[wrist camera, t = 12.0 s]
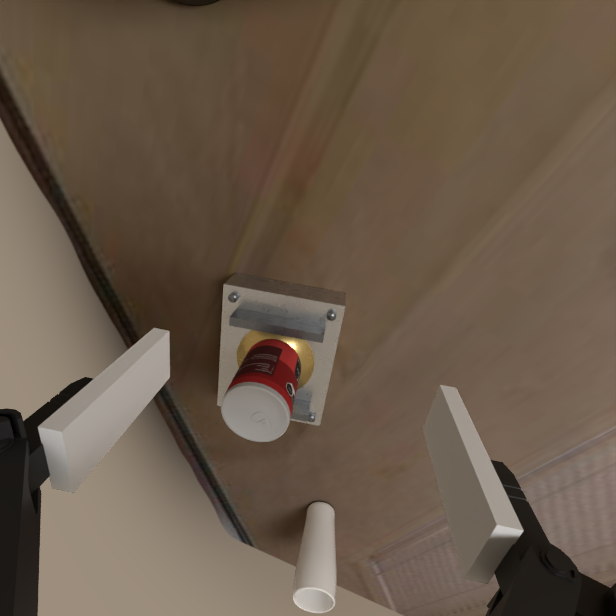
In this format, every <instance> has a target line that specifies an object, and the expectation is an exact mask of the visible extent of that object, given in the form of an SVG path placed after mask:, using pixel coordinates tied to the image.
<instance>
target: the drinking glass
mask: <svg viewBox="0 0 616 616" xmlns="http://www.w3.org/2000/svg"><path fill="white" fill-rule="evenodd" d="M334 519H335V512H334V509H333V508H332V506H330V505H329V504H327V503H325V502H314V503H312V504H311V505H310V506H309V507H308V509H307V515H306V522H305V526H304V531H303V536H302V541H301V546H300V550H299V555H298V560H297V565H296V571H295V578H294V587H293V601H294V603H295V604H296V605H297V606H298V607H299V608H301V609H303V610H305V611H308V612H312V613H324V612H327V611H329V610H331V609H332V608H333V607H334V605H335V598H336V550H335V525H334Z"/></svg>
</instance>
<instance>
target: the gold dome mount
mask: <svg viewBox="0 0 616 616" xmlns="http://www.w3.org/2000/svg"><path fill="white" fill-rule="evenodd" d="M345 300H346V293H344V292H339V291H333V290H328V289H322V288H317V287H311V286H306V285H300V284H295V283H289V282H284V281H278V280H273V279H267V278H262V277H256V276H250V275H245V274H239V273H235V274H234V275H233V276H231V277H230V278H229V279H228V280H227V281H226V282H225V283H224V284H223V303H222V322H221V342H220V362H219V381H218V401H217V405H218V406H221V403H222V400H223V397H224V395H225V393H226V391H227V389H228V387H229V385H230V383H231V382H232V380H233V378H234V376H235V374H236V373H237V371H238V369H239V367H240V365H241V364H242V362H243V360H244V358H245V356H246V354H247V353H248V351H249V350H250V348H251V347H252V346H253V345H254V344H256V343H258V342H260V341H261V340H265V339H277V340H281V341H283V342H285V343H287V344H289V345H290V346H291V347H292V348H293V349H294V350H295V351H296V353H297V354H298V356H299V358H300V362H301V374H300V379H299V383H298V388H297V392H296V397H295V401H294V406H293V410H292V414H291V418H290V420H293V421H298V422H303V423H308V424H313V425H318V426H320V422H321V418H322V413H323V408H324V404H325V399H326V394H327V390H328V385H329V380H330V376H331V371H332V366H333V362H334V357H335V352H336V348H337V343H338V338H339V334H340V329H341V324H342V320H343V315H344V310H345Z"/></svg>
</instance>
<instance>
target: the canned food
mask: <svg viewBox="0 0 616 616" xmlns="http://www.w3.org/2000/svg"><path fill="white" fill-rule="evenodd" d="M300 374H301V362H300V358H299V356H298V354H297V353H296V351H295V350H294V349H293V348H292V347H291V346H290V345H289V344H287V343H285V342H283V341H281V340H277V339H265V340H261V341H260V342H258V343H256V344H254V345H253V346H252V347H251V348H250V350H249V351H248V353H247V354H246V356H245V358H244V360H243V362H242V364H241V365H240V367H239V369H238V371H237V373H236V374H235V376H234V378H233V380H232V382H231V383H230V385H229V387H228V389H227V391H226V393H225V395H224V397H223V400H222V403H221V413H222V416H223V419H224V421H225V423H226V424H227V425H228V427H229V428H230V429H231V430H232V431H234V432H235V433H236V434H238V435H239V436H241V437H243V438H245V439H248V440H251V441H256V442H267V441H272V440H275V439H277V438H279V437H280V436H282V435H283V434H284V432H285V431H286V429H287V427H288V425H289V422H290V418H291V414H292V410H293V406H294V401H295V397H296V392H297V388H298V383H299V379H300Z"/></svg>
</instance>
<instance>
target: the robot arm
mask: <svg viewBox="0 0 616 616" xmlns="http://www.w3.org/2000/svg"><path fill="white" fill-rule="evenodd" d="M174 1H177V2H180V3H183V4H188V5H205V4H209V3H213V2H215V1H218V0H174ZM169 378H170V345H169V331H167V330H162V329H157V328H153V329H152V330H151V331H150V332H149V333H147V334H146V335H145V336H144V337H143V338H141V339H140V340H139V341H138V342H137V343H136V344H134V345H133V346H132V347H131V348H130V349H129V350H127V351H126V352H125V353H124V354H123V355H122V356H120V357H119V358H118V359H117V360H116V361H114V363H112V364H111V365H110V366H109V367H107V368H106V369H105V370H104V371H103V372H102V373H100V374H99V375H98V376H97V377H96V378H94V379H92V378H87V377H84V378H82V379H80V380H78V381H76V382H73V383H71V384H70V385H68V386H67V387H66V388H65V389H63V390H62V391H61V392H60V393H59V395H58V394H57V395H56V396H55V397H53V398H52V399H51V400H50V402H47V403H46V404H45V405H43V406H42V407H41V408H40V409H38V410H37V411H36V412H35V413H33V414H32V415H31V416H30V417H29V418H27V419H26V420H25V421H23V419H22V416H21V413H20V412H18V411H17V410H14V409H0V616H37V612H38V580H39V547H40V513H41V490H40V486H41V484H42V483H43V482H44V481H45V480H46V479H47V478H48V477H50V482H51V486H52V488H53V489H58V490H62V491H67V492H72V493H74V492H75V491H76V490H77V488H78V487H79V486H80V485H81V484H82V482H83V481H84V480H85V479H86V478H87V476H88V475H89V474H90V473H91V472H92V470H93V469H94V468H95V467H96V466H97V464H98V463H99V462H100V461H101V460H102V458H103V457H104V456H105V455H106V454H107V452H108V451H109V450H110V449H111V448H112V446H113V445H114V444H115V443H116V441H117V440H118V439H119V438H120V437H121V435H122V434H123V433H124V432H125V431H126V430H127V428H128V427H129V426H130V425H131V424H132V422H133V421H134V420H135V418H136V417H137V416H138V415H139V414H140V413H141V411H142V410H143V409H144V408H145V407H146V405H147V404H148V403H149V402H150V401H151V399H152V398H153V397H154V396H155V395H156V393H157V392H158V391H159V390H160V389H161V387H162V386H163V385H164V384H165V383H166V381H167V380H168V379H169ZM422 429H423V433H424V437H425V440H426V444H427V448H428V451H429V455H430V459H431V462H432V466H433V470H434V473H435V477H436V481H437V484H438V488H439V491H440V495H441V499H442V502H443V506H444V510H445V513H446V517H447V521H448V524H449V528H450V532H451V535H452V539H453V542H454V546H455V550H456V553H457V557H458V561H459V564H460V568H461V572H462V575H463V579H466V580H471V581H475V582H480V583H484V584H488V583H489V581H490V580H491V578H492V577H493V575H494V574H495V575H496V578H497V581H498V584H499V587H500V588H499V590H498V591H497V592H496V594H495V595H494V597H493V598H492V599H491V601H490V602H489V604H488V605H487V607H488V608H489V610H488V612H487V614H486V616H616V584H614V585H613V586H612V587H611V588H609V587H607V586H605V585H603V584H601V583H599V582H598V581H596V580H594V579H592V578H590V577H588V576H586V575H584V574H582V573H580V572H579V571H578V569H577V567H576V566H575V564H574V563H573V562H572V561H571V559H570V558H569V557H568V556H567V555H566V554H565V553H564V552H562V551H561V550H560V549H559V548H557V547H555V546H554V545H552V544H550V542H549V541H548V539H547V537H546V535H545V533H544V531H543V529H542V527H541V525H540V524H539V522H538V520H537V518H536V516H535V514H534V512H533V510H532V508H531V506H530V505H529V503H528V502H527V501H526V497H525V495H524V493H523V491H521V487H520V486H519V484H518V482H517V480H516V478H515V476H514V474H513V473H512V472H511V471H510V470H509V469H508V468H507V467H506V466H505V465H504V463H503V462H498V461H493V460H490V458H489V456H488V454H487V452H486V450H485V448H484V446H483V443H482V441H481V439H480V437H479V435H478V433H477V431H476V429H475V427H474V424H473V422H472V420H471V418H470V416H469V414H468V412H467V410H466V408H465V405H464V403H463V401H462V399H461V397H460V395H459V393H458V391H457V389H456V388H454V387H449V386H444V385H440V386H439V388H438V391H437V393H436V396H435V398H434V401H433V403H432V406H431V408H430V411H429V413H428V416H427V418H426V421H425V423H424V426H423V428H422Z"/></svg>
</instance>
